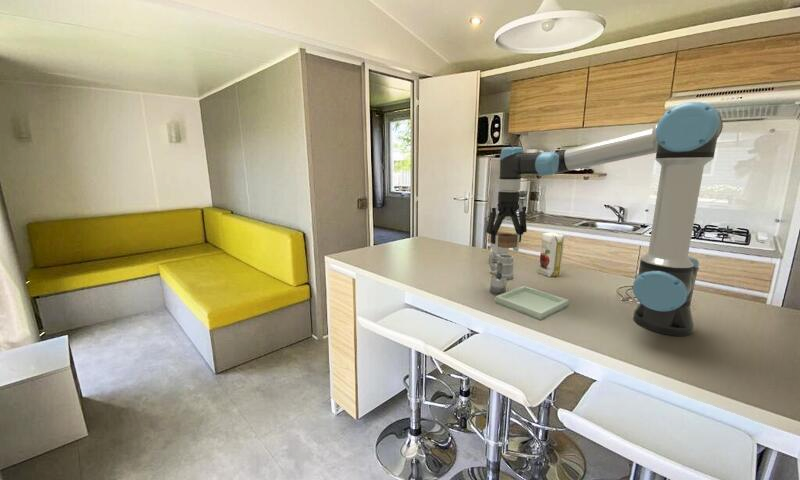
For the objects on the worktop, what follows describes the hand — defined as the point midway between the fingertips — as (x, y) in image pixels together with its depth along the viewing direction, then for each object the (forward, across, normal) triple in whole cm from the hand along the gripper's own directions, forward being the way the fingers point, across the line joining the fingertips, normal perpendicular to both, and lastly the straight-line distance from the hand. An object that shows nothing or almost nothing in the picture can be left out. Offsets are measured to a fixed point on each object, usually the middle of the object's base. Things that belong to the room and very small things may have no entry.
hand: (505, 251), depth 129 cm
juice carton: (+18, -33, -17) cm, 41 cm away
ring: (-2, 0, 0) cm, 2 cm away
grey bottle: (+17, +1, -2) cm, 17 cm away
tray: (+17, -5, +11) cm, 21 cm away
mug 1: (+17, -18, -40) cm, 48 cm away
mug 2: (+17, -10, -20) cm, 28 cm away
